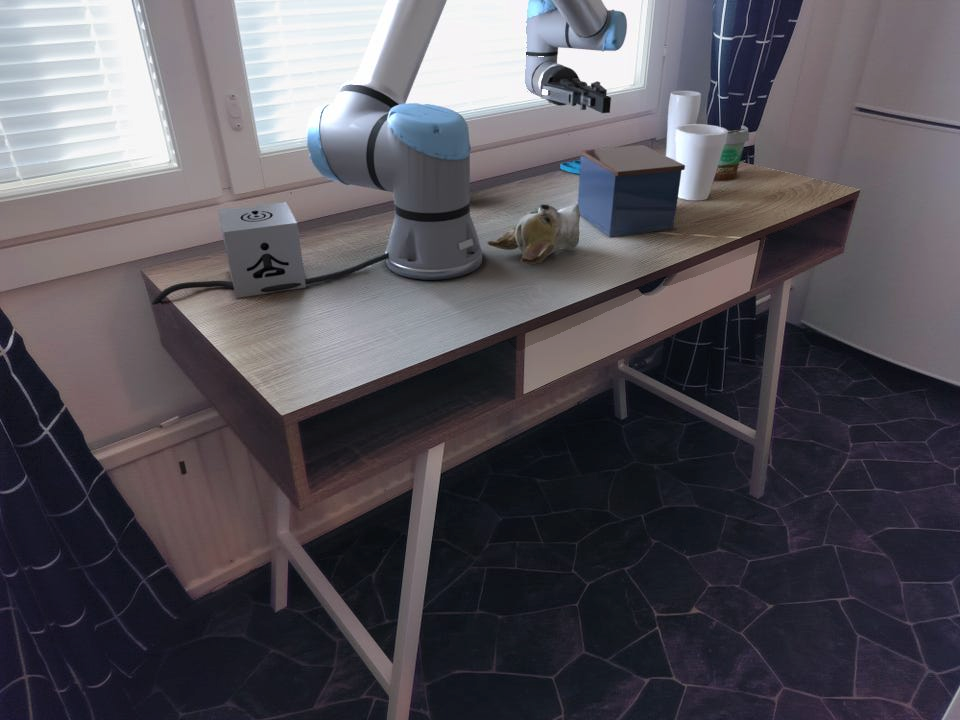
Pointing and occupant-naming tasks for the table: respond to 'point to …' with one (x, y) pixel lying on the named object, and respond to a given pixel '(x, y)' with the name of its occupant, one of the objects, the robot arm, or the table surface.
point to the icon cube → (262, 248)
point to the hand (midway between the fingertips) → (606, 105)
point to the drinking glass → (680, 116)
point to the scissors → (573, 164)
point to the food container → (731, 154)
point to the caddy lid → (632, 160)
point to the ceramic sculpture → (543, 233)
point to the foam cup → (698, 158)
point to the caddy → (627, 200)
